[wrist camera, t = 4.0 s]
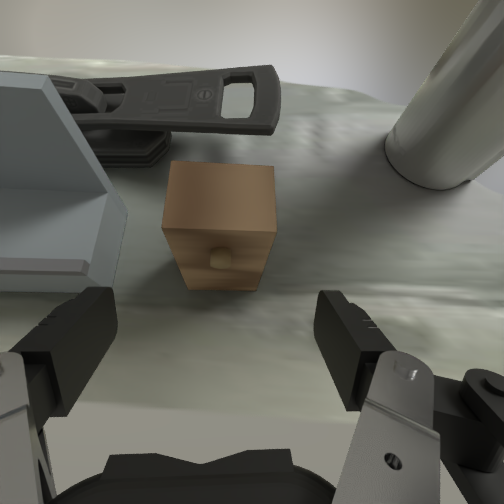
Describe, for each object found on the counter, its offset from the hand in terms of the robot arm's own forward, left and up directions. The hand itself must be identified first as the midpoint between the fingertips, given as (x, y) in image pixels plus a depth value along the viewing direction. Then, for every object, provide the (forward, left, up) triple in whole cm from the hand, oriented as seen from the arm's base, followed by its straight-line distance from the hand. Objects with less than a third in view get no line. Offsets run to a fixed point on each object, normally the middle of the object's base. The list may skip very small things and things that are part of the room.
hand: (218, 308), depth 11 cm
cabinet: (0, -6, -11) cm, 12 cm away
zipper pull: (+8, -19, -11) cm, 24 cm away
